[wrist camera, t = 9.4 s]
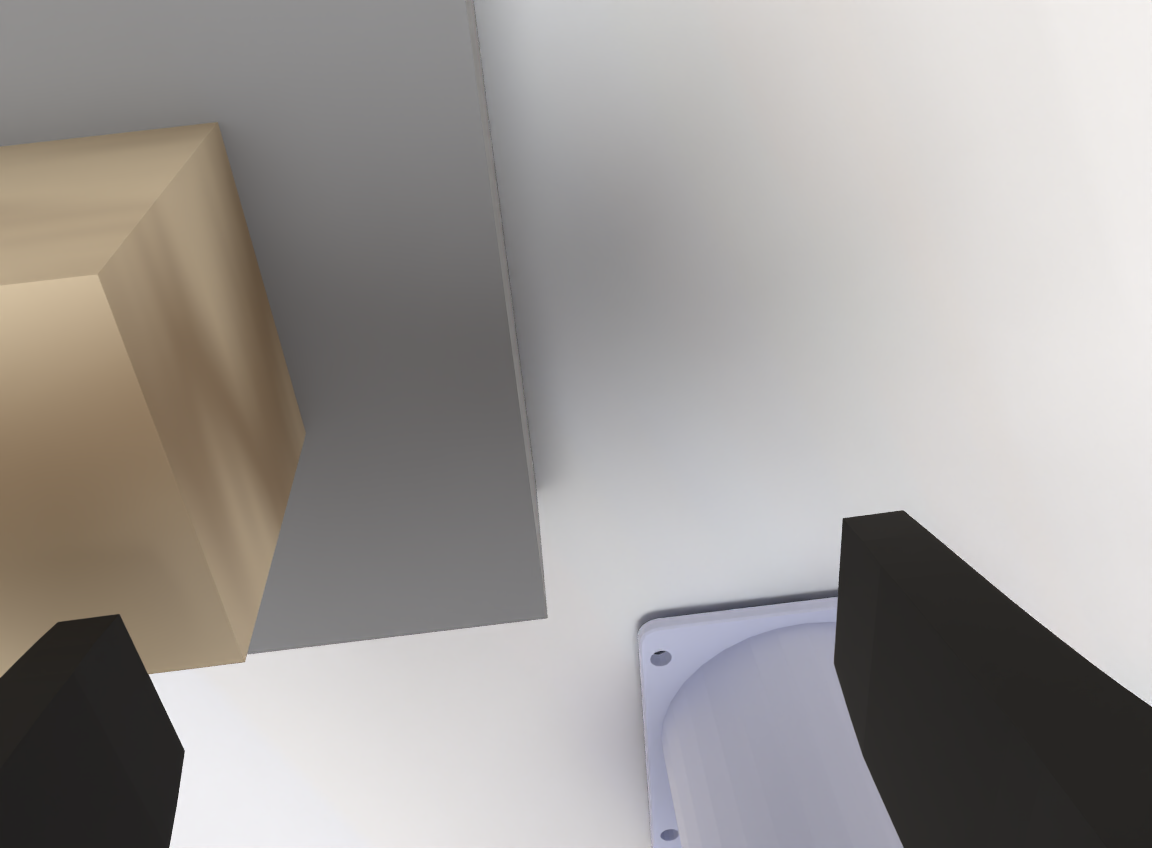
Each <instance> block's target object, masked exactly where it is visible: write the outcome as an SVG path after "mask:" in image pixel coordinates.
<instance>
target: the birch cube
mask: <svg viewBox="0 0 1152 848" xmlns="http://www.w3.org/2000/svg"><path fill="white" fill-rule="evenodd" d="M305 435H306V432H305V428H304V425H303V421H302V418H301V414H300V411H299V407H298V404H297V400H296V397H295V393H294V390H293V386H292V382H291V379H290V375H289V372H288V368H287V365H286V361H285V358H284V354H283V351H282V347H281V344H280V340H279V336H278V333H277V329H276V326H275V322H274V319H273V315H272V312H271V308H270V305H269V301H268V298H267V294H266V291H265V287H264V283H263V280H262V276H261V273H260V269H259V266H258V262H257V259H256V255H255V252H254V248H253V245H252V241H251V238H250V234H249V230H248V227H247V223H246V220H245V216H244V213H243V209H242V206H241V202H240V199H239V195H238V192H237V188H236V185H235V181H234V177H233V174H232V170H231V167H230V163H229V160H228V156H227V153H226V149H225V146H224V142H223V139H222V135H221V131H220V128H219V124H218V122H214V123H206V124H197V125H188V126H179V127H170V128H161V129H152V130H143V131H134V132H126V133H117V134H108V135H99V136H90V137H81V138H72V139H63V140H54V141H46V142H37V143H28V144H19V145H10V146H1V147H0V678H1V677H2V676H3V675H4V674H5V673H6V672H7V671H8V669H9V668H10V667H11V666H12V665H13V664H14V663H15V662H16V661H17V660H18V659H19V658H20V657H21V656H22V655H23V654H24V653H25V652H26V651H27V650H29V649H30V648H31V647H32V646H33V645H34V644H35V643H36V642H37V641H38V640H39V639H40V638H41V637H42V636H43V635H44V634H45V633H46V632H47V631H48V630H50V629H51V628H52V627H53V626H54V625H55V624H56V623H57V622H61V621H69V620H76V619H84V618H92V617H99V616H107V615H114V614H120V616H121V618H122V620H123V622H124V624H125V626H126V629H127V631H128V633H129V635H130V637H131V639H132V641H133V643H134V645H135V647H136V650H137V652H138V654H139V656H140V658H141V660H142V662H143V664H144V666H145V669H146V671H147V673H148V674H154V673H162V672H170V671H178V670H186V669H194V668H202V667H210V666H218V665H226V664H234V663H242V662H245V660H246V656H247V652H248V648H249V645H250V641H251V637H252V633H253V630H254V626H255V622H256V618H257V615H258V611H259V607H260V603H261V600H262V596H263V592H264V588H265V585H266V581H267V577H268V573H269V570H270V566H271V562H272V558H273V555H274V551H275V547H276V544H277V540H278V536H279V532H280V529H281V525H282V521H283V517H284V514H285V510H286V506H287V502H288V499H289V495H290V491H291V487H292V484H293V480H294V476H295V472H296V469H297V465H298V461H299V457H300V454H301V450H302V446H303V442H304V439H305Z"/></svg>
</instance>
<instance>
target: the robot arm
mask: <svg viewBox="0 0 1152 848" xmlns="http://www.w3.org/2000/svg"><path fill="white" fill-rule="evenodd" d="M638 648H639V663H640V678H641V693H642V708H643V723H644V738H645V753H646V768H647V783H648V799H649V814H650V829H651V844H652V848H1152V707H1151V706H1150V705H1148V704H1147V703H1146V702H1144V701H1143V700H1141V699H1140V698H1138V697H1137V696H1136V695H1134V694H1133V693H1131V692H1130V691H1128V690H1127V689H1126V688H1124V687H1123V686H1121V685H1120V684H1119V683H1117V682H1116V681H1115V680H1113V679H1112V678H1111V677H1109V676H1108V675H1107V674H1105V673H1104V672H1102V671H1101V670H1100V669H1098V668H1097V667H1096V666H1094V665H1093V664H1092V663H1090V662H1089V661H1088V660H1087V659H1085V658H1084V657H1083V656H1081V655H1080V654H1079V653H1078V652H1076V651H1075V650H1074V649H1072V648H1071V647H1070V646H1069V645H1067V644H1066V643H1065V642H1063V641H1062V640H1061V639H1060V638H1058V637H1057V636H1056V635H1054V634H1053V633H1052V632H1051V631H1049V630H1048V629H1047V628H1045V627H1044V626H1043V625H1042V624H1040V623H1039V622H1038V621H1036V620H1035V619H1034V618H1033V617H1031V616H1030V615H1029V614H1028V613H1026V612H1025V611H1024V610H1023V609H1022V608H1020V607H1019V606H1018V605H1017V604H1015V603H1014V602H1013V601H1012V600H1010V599H1009V598H1008V597H1007V596H1006V595H1004V594H1003V593H1002V592H1001V591H1000V590H998V589H997V588H996V587H995V586H993V585H992V584H991V583H990V582H989V581H987V580H986V579H985V578H984V577H983V576H981V575H980V574H979V573H978V572H977V571H975V570H974V569H973V568H972V567H971V566H969V565H968V564H967V563H966V562H965V561H963V560H962V559H961V558H960V557H959V556H957V555H956V554H955V553H954V552H953V551H952V550H950V549H949V548H948V547H947V546H946V545H944V544H943V543H942V542H941V541H940V540H938V539H937V538H936V537H935V536H934V535H932V534H931V533H930V532H929V531H928V530H926V529H925V528H924V527H923V526H922V525H920V524H919V523H918V522H917V521H916V520H914V519H913V518H912V517H911V516H909V515H908V514H907V513H906V512H905V511H895V512H888V513H880V514H872V515H865V516H857V517H850V518H843V524H842V540H841V556H840V571H839V587H838V597H832V598H823V599H815V600H807V601H798V602H790V603H782V604H774V605H765V606H757V607H749V608H740V609H732V610H724V611H716V612H707V613H699V614H691V615H682V616H674V617H666V618H658V619H654V620H650V621H648V622H647V623H645V624H643V625H642V627H641V628H640V629H639V632H638ZM658 651H666V652H665V653H662V654H654V653H655V652H658ZM184 753H185V751H184V748H183V746H182V744H181V742H180V740H179V738H178V736H177V734H176V732H175V729H174V727H173V725H172V723H171V721H170V719H169V717H168V715H167V713H166V711H165V708H164V706H163V704H162V702H161V700H160V698H159V696H158V694H157V692H156V690H155V687H154V685H153V683H152V681H151V679H150V677H149V675H148V673H147V671H146V669H145V666H144V664H143V662H142V660H141V658H140V656H139V654H138V652H137V650H136V647H135V645H134V643H133V641H132V639H131V637H130V635H129V633H128V631H127V629H126V626H125V624H124V622H123V620H122V618H121V616H120V614H114V615H107V616H99V617H92V618H84V619H76V620H69V621H61V622H57V623H56V624H55V625H54V626H53V627H52V628H51V629H50V630H48V631H47V632H46V633H45V634H44V635H43V636H42V637H41V638H40V639H39V640H38V641H37V642H36V643H35V644H34V645H33V646H32V647H31V648H30V649H29V650H27V651H26V652H25V653H24V654H23V655H22V656H21V657H20V658H19V659H18V660H17V661H16V662H15V663H14V664H13V665H12V666H11V667H10V668H9V669H8V671H7V672H6V673H5V674H4V675H3V676H2V677H1V678H0V848H169V846H170V840H171V835H172V829H173V823H174V818H175V812H176V807H177V800H178V793H179V787H180V780H181V773H182V766H183V759H184Z"/></svg>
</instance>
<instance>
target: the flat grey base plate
mask: <svg viewBox="0 0 1152 848" xmlns="http://www.w3.org/2000/svg"><path fill="white" fill-rule="evenodd" d="M214 122H218V124H219V128H220V131H221V135H222V139H223V142H224V146H225V149H226V153H227V156H228V160H229V163H230V167H231V170H232V174H233V177H234V181H235V185H236V188H237V192H238V195H239V199H240V202H241V206H242V209H243V213H244V216H245V220H246V223H247V227H248V230H249V234H250V238H251V241H252V245H253V248H254V252H255V255H256V259H257V262H258V266H259V269H260V273H261V276H262V280H263V283H264V287H265V291H266V294H267V298H268V301H269V305H270V308H271V312H272V315H273V319H274V322H275V326H276V329H277V333H278V336H279V340H280V344H281V347H282V351H283V354H284V358H285V361H286V365H287V368H288V372H289V375H290V379H291V382H292V386H293V390H294V393H295V397H296V400H297V404H298V407H299V411H300V414H301V418H302V421H303V425H304V428H305V432H306V435H305V439H304V442H303V446H302V450H301V454H300V457H299V461H298V465H297V469H296V472H295V476H294V480H293V484H292V487H291V491H290V495H289V499H288V502H287V506H286V510H285V514H284V517H283V521H282V525H281V529H280V532H279V536H278V540H277V544H276V547H275V551H274V555H273V558H272V562H271V566H270V570H269V573H268V577H267V581H266V585H265V588H264V592H263V596H262V600H261V603H260V607H259V611H258V615H257V618H256V622H255V626H254V630H253V633H252V637H251V641H250V645H249V648H248V652H247V654H254V653H262V652H271V651H279V650H287V649H296V648H304V647H312V646H321V645H329V644H337V643H346V642H354V641H362V640H371V639H379V638H387V637H395V636H404V635H412V634H420V633H429V632H437V631H445V630H454V629H462V628H470V627H479V626H487V625H495V624H503V623H512V622H520V621H528V620H537V619H545V618H548V617H547V606H546V594H545V583H544V571H543V559H542V548H541V536H540V525H539V513H538V502H537V491H536V483H535V475H534V467H533V459H532V452H531V444H530V436H529V428H528V421H527V413H526V405H525V397H524V389H523V382H522V374H521V366H520V358H519V351H518V343H517V335H516V327H515V320H514V312H513V304H512V296H511V288H510V281H509V273H508V265H507V257H506V250H505V242H504V234H503V226H502V218H501V211H500V203H499V195H498V187H497V180H496V172H495V164H494V156H493V149H492V141H491V133H490V125H489V117H488V110H487V102H486V94H485V86H484V79H483V71H482V63H481V55H480V47H479V40H478V32H477V24H476V16H475V9H474V1H473V0H0V147H1V146H10V145H19V144H28V143H37V142H46V141H54V140H63V139H72V138H81V137H90V136H99V135H108V134H117V133H126V132H134V131H143V130H152V129H161V128H170V127H179V126H188V125H197V124H206V123H214Z"/></svg>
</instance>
